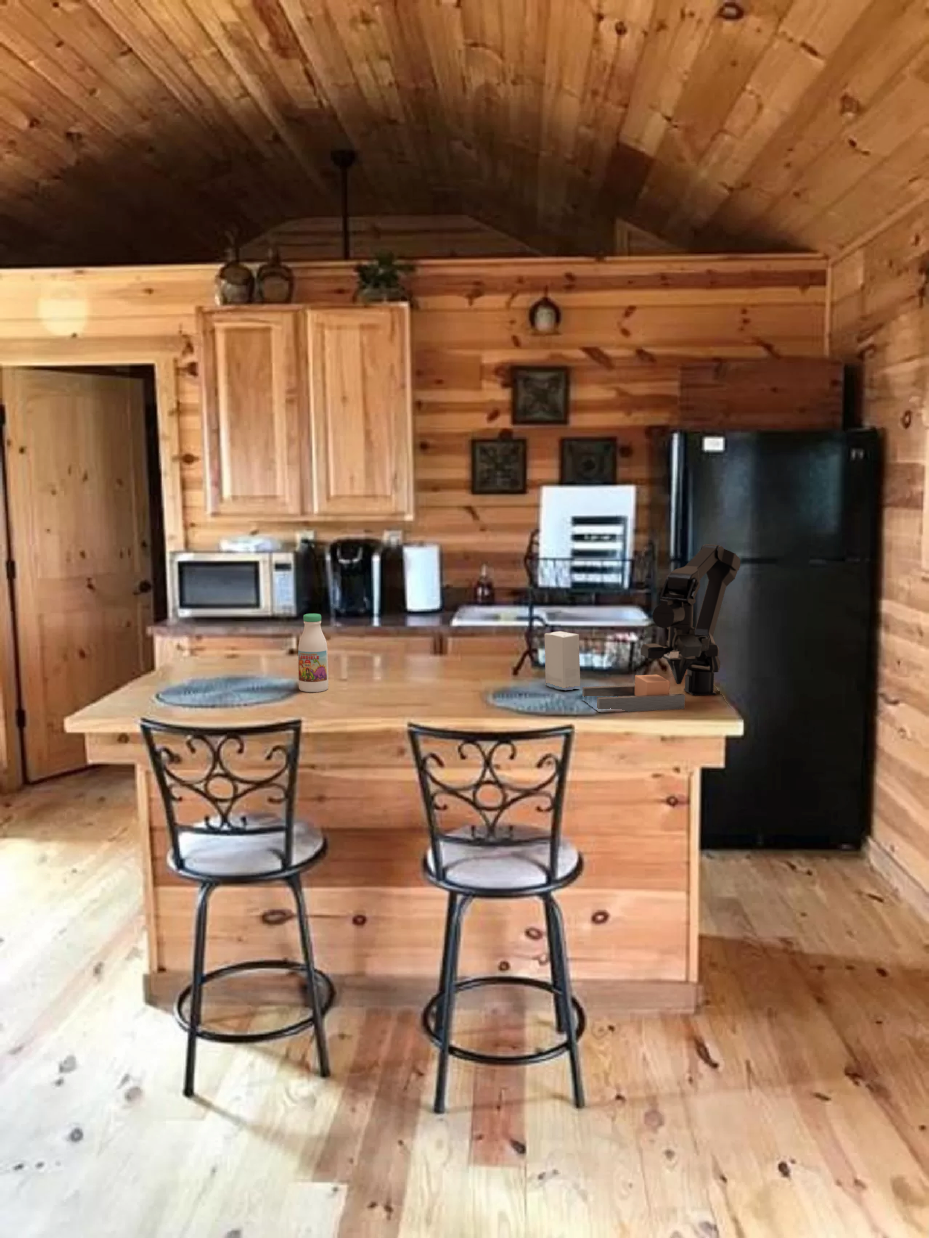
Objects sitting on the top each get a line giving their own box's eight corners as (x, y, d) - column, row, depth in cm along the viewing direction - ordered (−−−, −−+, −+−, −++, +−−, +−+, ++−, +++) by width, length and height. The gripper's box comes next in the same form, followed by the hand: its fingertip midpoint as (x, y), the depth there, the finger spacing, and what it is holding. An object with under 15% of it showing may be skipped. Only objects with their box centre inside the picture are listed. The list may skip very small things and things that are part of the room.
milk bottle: (301, 686, 277) (299, 612, 274) (330, 686, 277) (328, 612, 274) (296, 692, 270) (295, 616, 266) (326, 692, 270) (325, 616, 267)
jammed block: (656, 693, 264) (657, 674, 263) (669, 701, 256) (669, 681, 256) (634, 694, 263) (635, 675, 262) (646, 702, 255) (646, 682, 254)
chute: (663, 696, 267) (664, 683, 267) (684, 709, 255) (684, 695, 254) (582, 700, 263) (582, 687, 262) (598, 713, 250) (599, 698, 250)
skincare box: (580, 689, 275) (581, 634, 273) (562, 692, 272) (563, 636, 269) (560, 683, 282) (561, 629, 280) (543, 686, 279) (544, 631, 276)
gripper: (657, 629, 248) (655, 692, 251) (730, 626, 252) (727, 689, 255) (640, 621, 259) (638, 682, 262) (710, 619, 263) (708, 679, 265)
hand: (678, 683), depth 261 cm, fingers closed
